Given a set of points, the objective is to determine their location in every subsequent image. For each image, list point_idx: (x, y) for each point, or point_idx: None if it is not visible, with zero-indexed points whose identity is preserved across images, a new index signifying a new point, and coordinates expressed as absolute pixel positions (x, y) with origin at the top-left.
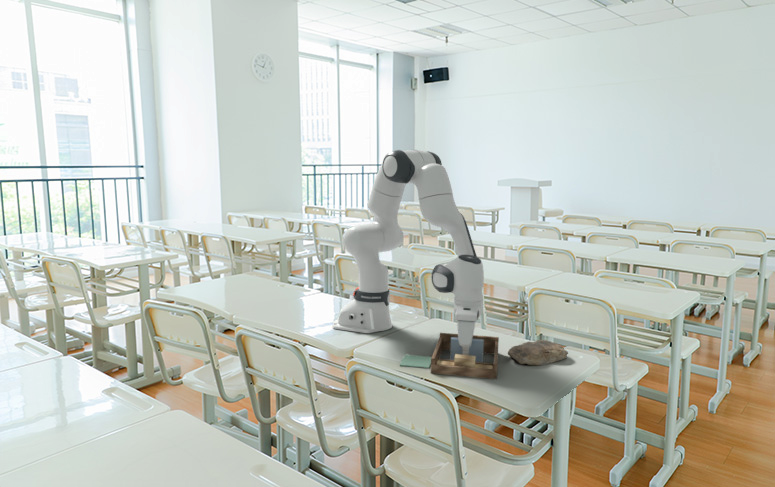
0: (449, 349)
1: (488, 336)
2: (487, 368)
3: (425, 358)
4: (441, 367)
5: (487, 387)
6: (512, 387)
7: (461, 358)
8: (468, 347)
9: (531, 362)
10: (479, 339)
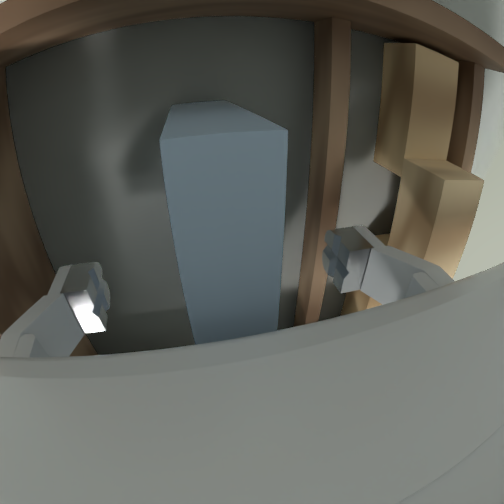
0: (85, 338)
1: None
2: (453, 87)
3: None
4: None
5: (499, 105)
6: (489, 13)
7: (459, 256)
8: (433, 268)
9: None
10: (187, 213)
